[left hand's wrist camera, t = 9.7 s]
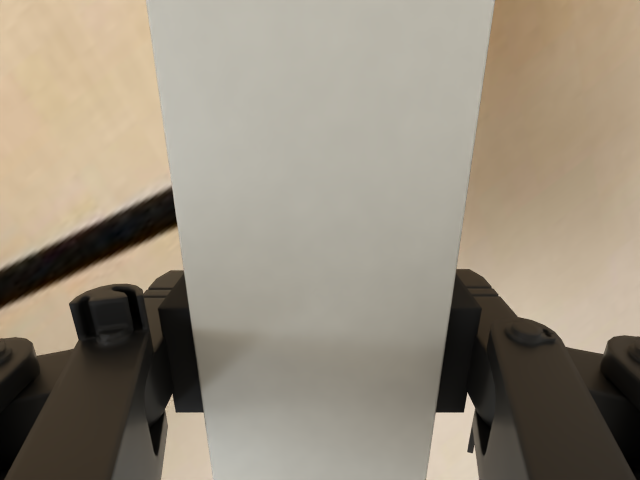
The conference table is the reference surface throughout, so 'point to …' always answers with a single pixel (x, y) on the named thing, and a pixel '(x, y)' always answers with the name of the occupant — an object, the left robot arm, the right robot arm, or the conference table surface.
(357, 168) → the beam
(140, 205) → the conference table surface
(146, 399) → the left robot arm
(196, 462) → the conference table surface
